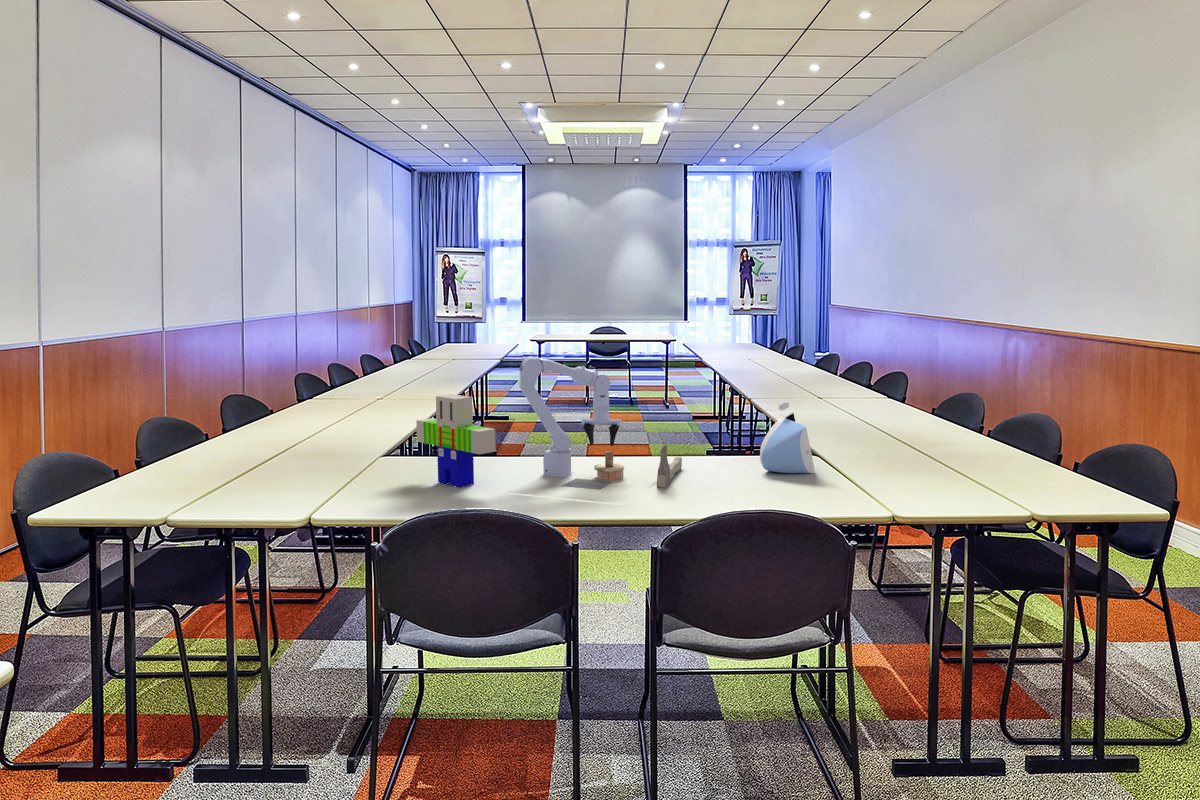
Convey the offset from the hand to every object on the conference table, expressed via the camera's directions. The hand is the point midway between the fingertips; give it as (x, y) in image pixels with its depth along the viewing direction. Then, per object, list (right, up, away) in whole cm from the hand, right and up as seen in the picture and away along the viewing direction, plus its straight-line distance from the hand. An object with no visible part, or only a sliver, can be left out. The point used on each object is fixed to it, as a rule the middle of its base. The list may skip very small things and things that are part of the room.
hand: (601, 444), depth 322 cm
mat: (-5, -13, -17) cm, 22 cm away
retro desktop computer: (+69, -10, +6) cm, 70 cm away
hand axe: (+24, -12, -6) cm, 27 cm away
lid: (+3, -8, -8) cm, 11 cm away
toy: (-50, -13, -14) cm, 53 cm away
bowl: (+3, -11, -6) cm, 13 cm away
